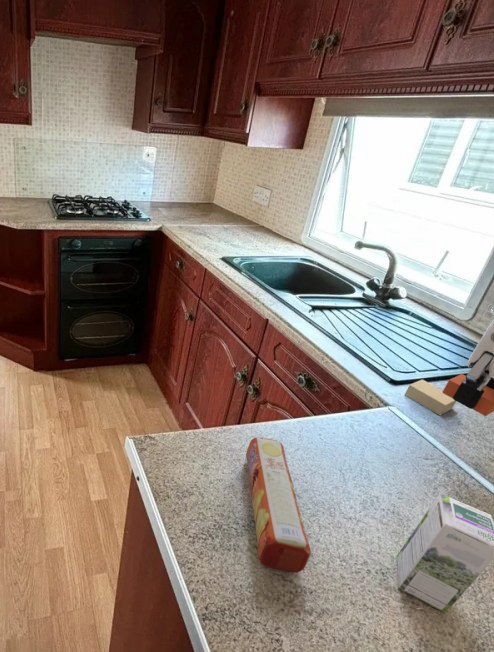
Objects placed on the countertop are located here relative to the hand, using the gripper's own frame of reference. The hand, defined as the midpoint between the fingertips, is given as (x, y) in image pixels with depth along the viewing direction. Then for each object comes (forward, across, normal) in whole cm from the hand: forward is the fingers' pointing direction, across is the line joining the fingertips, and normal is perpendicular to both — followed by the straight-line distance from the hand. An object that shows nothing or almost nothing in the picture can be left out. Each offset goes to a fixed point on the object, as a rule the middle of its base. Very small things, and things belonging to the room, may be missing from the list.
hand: (470, 398), depth 74 cm
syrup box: (+15, -30, -12) cm, 35 cm away
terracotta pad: (0, 0, 0) cm, 0 cm away
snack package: (+15, -41, +7) cm, 44 cm away
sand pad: (+15, +19, +10) cm, 26 cm away
